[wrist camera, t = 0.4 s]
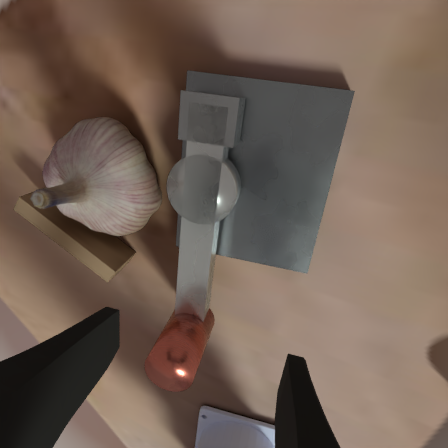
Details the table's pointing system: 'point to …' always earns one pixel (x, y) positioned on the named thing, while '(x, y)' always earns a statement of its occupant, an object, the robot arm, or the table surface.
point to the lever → (197, 230)
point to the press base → (278, 166)
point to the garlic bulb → (100, 178)
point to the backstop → (78, 238)
